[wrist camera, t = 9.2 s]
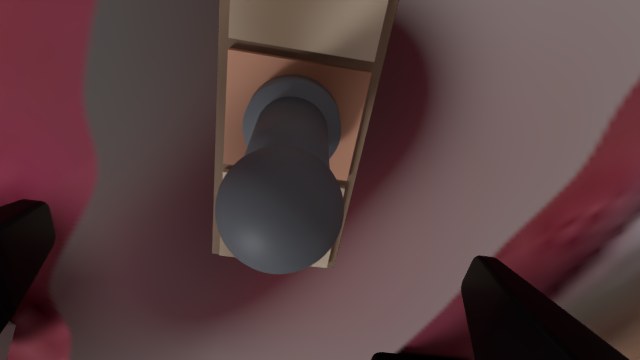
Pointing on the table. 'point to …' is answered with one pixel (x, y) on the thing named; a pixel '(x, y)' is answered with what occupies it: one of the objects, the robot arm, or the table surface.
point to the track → (300, 59)
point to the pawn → (284, 179)
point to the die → (6, 340)
